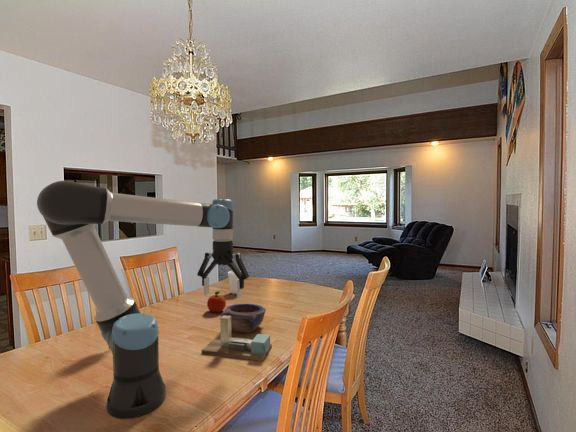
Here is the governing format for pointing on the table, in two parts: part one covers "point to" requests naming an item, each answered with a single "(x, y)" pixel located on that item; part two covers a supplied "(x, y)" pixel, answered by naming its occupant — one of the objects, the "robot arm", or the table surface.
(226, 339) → the slide bar
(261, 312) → the bowl
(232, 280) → the cup
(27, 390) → the table surface
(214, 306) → the fruit
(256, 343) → the socket block
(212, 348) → the rail base
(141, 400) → the robot arm
